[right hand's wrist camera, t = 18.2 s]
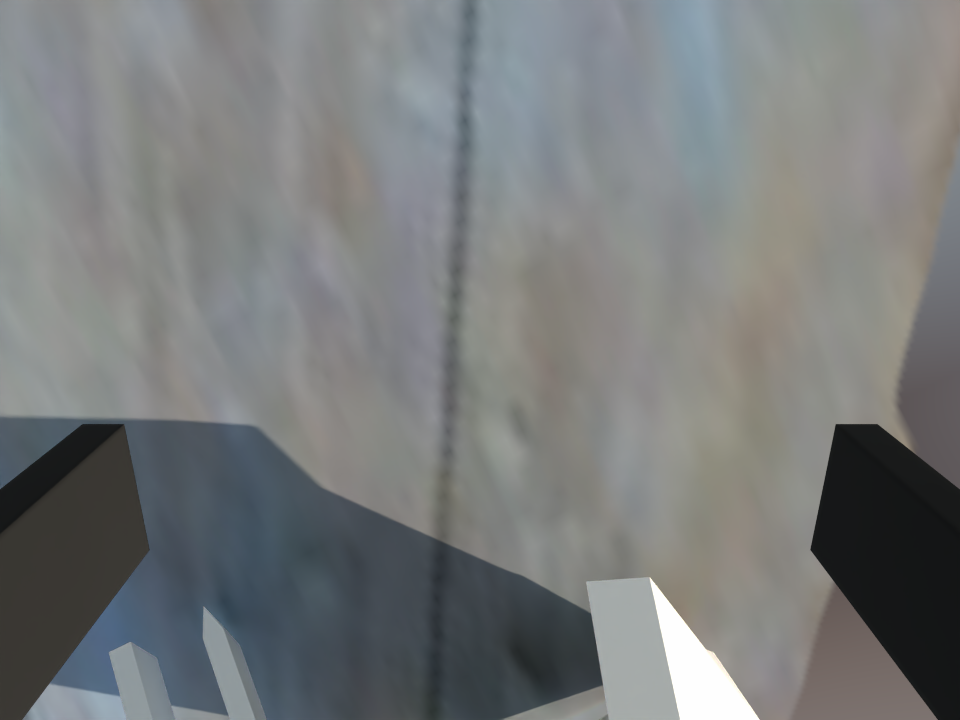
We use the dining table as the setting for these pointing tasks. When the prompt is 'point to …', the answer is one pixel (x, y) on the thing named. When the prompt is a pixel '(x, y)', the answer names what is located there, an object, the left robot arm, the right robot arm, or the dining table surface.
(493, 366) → the dining table surface
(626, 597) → the white plastic object
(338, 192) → the dining table surface
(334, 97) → the dining table surface
